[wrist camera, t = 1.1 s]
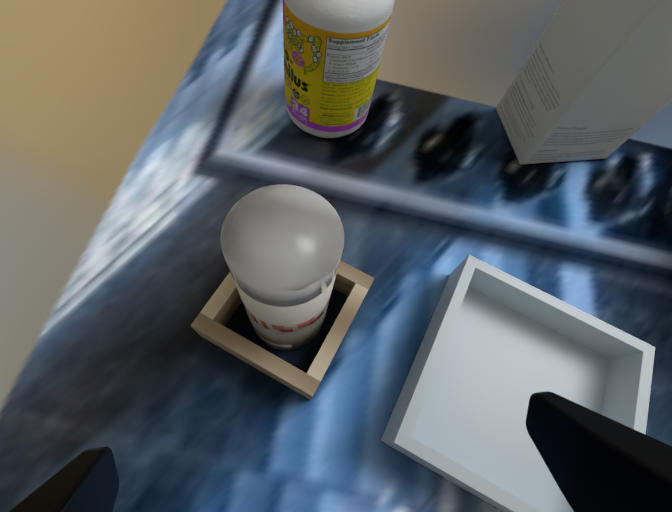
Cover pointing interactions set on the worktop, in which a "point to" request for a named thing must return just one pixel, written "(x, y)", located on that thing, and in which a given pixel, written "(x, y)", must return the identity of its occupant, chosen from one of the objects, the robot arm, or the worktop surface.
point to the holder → (214, 330)
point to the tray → (509, 384)
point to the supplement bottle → (332, 61)
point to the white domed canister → (283, 261)
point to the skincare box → (590, 80)
